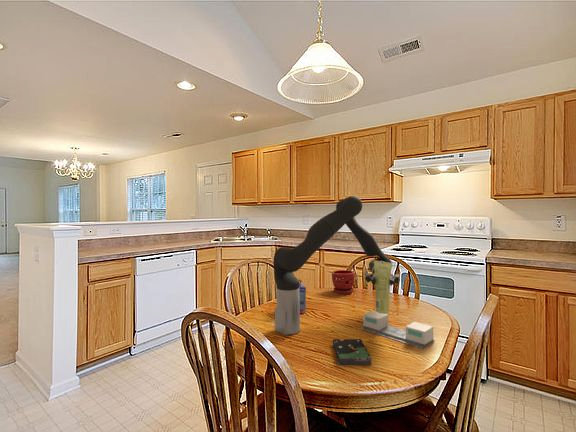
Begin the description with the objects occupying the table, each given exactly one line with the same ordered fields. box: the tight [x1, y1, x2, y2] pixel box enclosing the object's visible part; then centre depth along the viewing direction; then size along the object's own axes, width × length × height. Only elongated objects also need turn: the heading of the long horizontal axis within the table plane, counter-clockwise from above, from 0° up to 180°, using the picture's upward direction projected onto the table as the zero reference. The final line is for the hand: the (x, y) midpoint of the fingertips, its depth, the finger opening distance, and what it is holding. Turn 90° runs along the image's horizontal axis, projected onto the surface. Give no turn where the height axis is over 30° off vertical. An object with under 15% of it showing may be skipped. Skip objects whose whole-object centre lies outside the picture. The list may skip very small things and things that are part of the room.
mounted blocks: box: [362, 310, 434, 345], centre depth 121 cm, size 7×25×4 cm, turn 43°
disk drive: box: [332, 338, 372, 366], centre depth 105 cm, size 10×3×15 cm
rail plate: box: [360, 324, 436, 350], centre depth 121 cm, size 10×25×1 cm, turn 43°
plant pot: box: [331, 269, 356, 295], centre depth 183 cm, size 13×13×12 cm
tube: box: [373, 259, 393, 314], centre depth 121 cm, size 6×5×20 cm
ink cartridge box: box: [298, 278, 307, 314], centre depth 151 cm, size 10×6×14 cm, turn 15°
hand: (382, 282), depth 118 cm, fingers closed on tube, 5 cm apart
